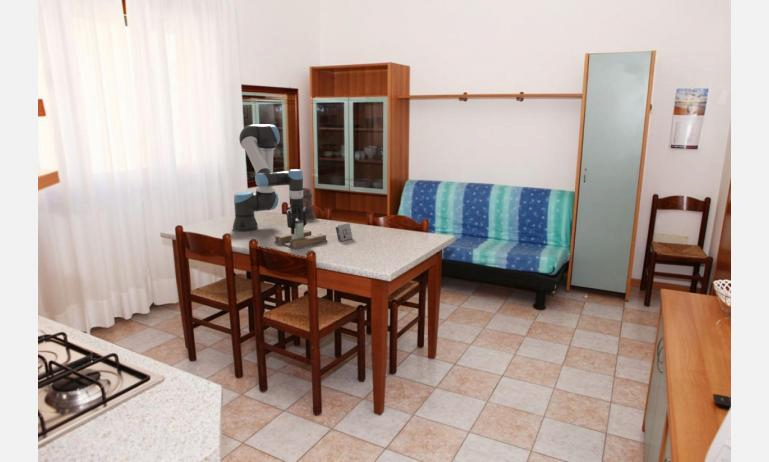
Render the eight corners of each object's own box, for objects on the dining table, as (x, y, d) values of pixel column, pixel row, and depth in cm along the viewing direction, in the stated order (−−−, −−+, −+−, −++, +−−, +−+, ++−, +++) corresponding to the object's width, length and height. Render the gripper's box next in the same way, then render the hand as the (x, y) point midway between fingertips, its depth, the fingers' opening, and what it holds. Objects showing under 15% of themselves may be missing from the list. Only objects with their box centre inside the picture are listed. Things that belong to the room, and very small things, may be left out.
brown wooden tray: (274, 242, 279) (274, 235, 278) (304, 235, 295) (304, 229, 294) (296, 249, 266) (296, 241, 265) (327, 242, 282) (327, 234, 281)
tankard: (304, 213, 359) (303, 186, 354) (320, 216, 349) (320, 188, 345) (279, 218, 341) (278, 190, 336) (296, 222, 331) (295, 192, 326)
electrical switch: (341, 241, 284) (340, 225, 282) (335, 240, 287) (334, 225, 285) (352, 238, 291) (351, 223, 289) (346, 238, 294) (345, 222, 292)
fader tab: (291, 240, 279) (290, 219, 276) (297, 239, 282) (296, 218, 279) (298, 242, 275) (297, 221, 272) (304, 241, 278) (303, 220, 275)
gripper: (288, 200, 264) (289, 242, 269) (312, 196, 276) (313, 237, 282) (279, 198, 269) (281, 240, 274) (304, 195, 281) (305, 234, 287)
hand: (297, 238), depth 278 cm, fingers closed on fader tab, 4 cm apart
